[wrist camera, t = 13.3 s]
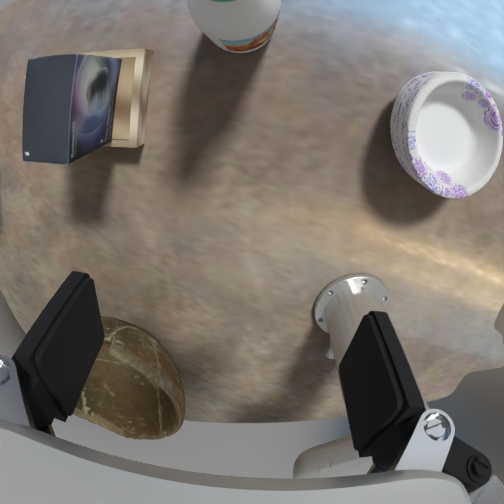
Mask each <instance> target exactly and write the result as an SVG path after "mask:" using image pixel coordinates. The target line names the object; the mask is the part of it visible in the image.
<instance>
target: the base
mask: <svg viewBox="0 0 504 504" xmlns="http://www.w3.org/2000/svg"><path fill="white" fill-rule="evenodd" d="M80 54H83V55H94V56H104V57H112V58H121V59H122V62H121V67H120V73H119V79H118V86H117V93H116V101H115V109H114V118H113V128H112V139H111V142H110V143H108V144H106V145H103V146H108V147H130V148H137V147H139V146H140V145H142V144H144V143H145V131H146V116H147V104H148V93H149V83H150V74H151V65H152V57H153V51H152V50H148V49H123V50H109V51H97V52H88V53H80Z"/></svg>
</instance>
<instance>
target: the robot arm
mask: <svg viewBox="0 0 504 504" xmlns="http://www.w3.org/2000/svg"><path fill="white" fill-rule="evenodd" d="M389 301H390V300H389V293H388V290H387V288H386V287H385V285H384V284H383V283H382V281H381V280H379V279H378V278H376V277H374V276H371V275H367V274H353V275H348V276H345V277H342V278H339V279H337V280H336V281H334V282H332V283H331V284H329V285H328V286H327V287H326V288H325V289H324V290H323V291H322V292H321V293H320V295H319V296H318V298H317V300H316V303H315V307H314V314H315V319H316V322H317V324H318V325H319V327H320V328H321V329H322V330H323V331H325V332H326V333H329V336H330V346H329V348H328V350H327V352H326V357H327V358H329V359H335V363H336V367H337V372H338V377H339V381H340V386H341V391H342V395H343V400H344V403H345V405H346V410H347V415H348V419H349V424H350V430H351V435H348V436H345V437H342V438H339V439H336V440H333V441H330V442H327V443H324V444H321V445H318V446H315V447H312V448H310V449H308V450H306V451H304V452H303V453H301V454H300V455H299V457H298V458H297V459H296V461H295V464H294V468H293V479H271V478H270V479H269V478H247V477H233V476H221V475H212V474H204V473H197V472H189V471H183V470H177V469H171V468H166V467H160V466H156V465H151V464H146V463H142V462H137V461H133V460H129V459H125V458H121V457H117V456H114V455H110V454H107V453H103V452H100V451H96V450H93V449H90V448H87V447H84V446H81V445H78V444H75V443H72V442H69V441H66V440H63V439H60V438H58V437H56V436H55V434H54V431H53V428H52V426H51V424H52V421H53V419H54V418H56V419H58V420H61V421H64V422H66V419H67V417H68V415H69V416H71V415H72V414H73V412H74V410H75V407H76V405H77V402H78V400H79V397H80V395H81V392H82V390H83V388H84V385H85V383H86V381H87V378H88V376H89V374H90V371H91V369H92V367H93V364H94V362H95V360H96V358H97V356H98V353H99V351H100V349H101V347H102V345H103V342H104V337H105V334H104V329H103V325H102V320H101V316H100V311H99V306H98V301H97V296H96V291H95V285H94V281H93V279H91V278H90V276H89V274H87V273H82V272H77V271H72V272H71V273H70V275H69V276H68V277H67V278H66V280H65V281H64V282H63V284H62V285H61V286H60V288H59V289H58V290H57V292H56V293H55V294H54V296H53V297H52V299H51V300H50V301H49V303H48V304H47V305H46V307H45V308H44V310H43V311H42V313H41V314H40V315H39V317H38V318H37V320H36V321H35V323H34V324H33V326H32V327H31V329H30V330H29V332H28V333H27V335H26V336H25V338H24V339H23V341H22V342H21V344H20V346H19V347H18V349H17V350H16V352H15V354H14V355H13V357H12V359H11V358H10V357H8V356H6V355H0V504H504V485H503V484H502V482H501V481H500V480H499V479H498V478H497V477H496V475H494V476H491V473H492V471H491V470H492V469H491V464H490V461H489V460H488V458H487V457H486V456H485V455H484V454H482V453H481V452H479V451H477V450H476V449H474V448H473V447H471V446H469V445H468V444H466V443H465V442H463V441H462V440H460V439H459V438H457V437H455V436H454V432H455V428H454V424H453V421H452V419H451V418H450V417H449V416H448V414H446V413H445V412H443V411H441V410H439V409H429V407H428V405H427V403H426V401H425V399H424V397H423V395H422V392H421V390H420V388H419V385H418V383H417V381H416V379H415V376H414V374H413V371H412V369H411V366H410V364H409V361H408V359H407V357H406V354H405V352H404V349H403V347H402V345H401V342H400V340H399V338H398V335H397V333H396V331H395V329H394V326H393V324H392V322H391V320H390V317H389V315H388V313H387V309H388V307H389Z"/></svg>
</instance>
